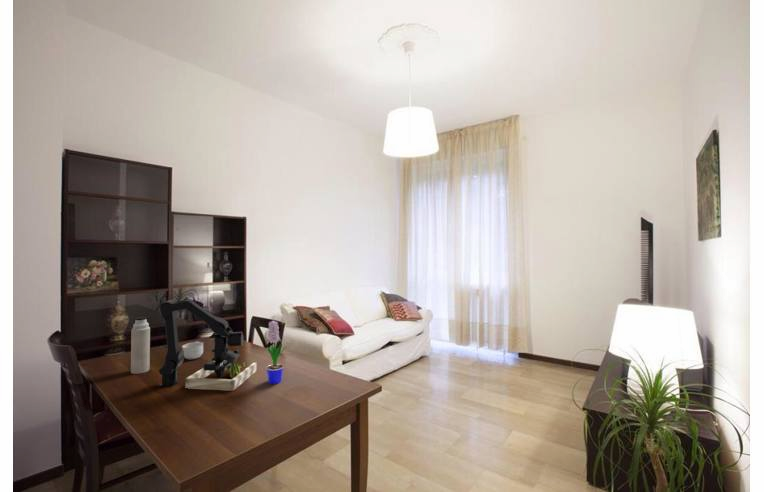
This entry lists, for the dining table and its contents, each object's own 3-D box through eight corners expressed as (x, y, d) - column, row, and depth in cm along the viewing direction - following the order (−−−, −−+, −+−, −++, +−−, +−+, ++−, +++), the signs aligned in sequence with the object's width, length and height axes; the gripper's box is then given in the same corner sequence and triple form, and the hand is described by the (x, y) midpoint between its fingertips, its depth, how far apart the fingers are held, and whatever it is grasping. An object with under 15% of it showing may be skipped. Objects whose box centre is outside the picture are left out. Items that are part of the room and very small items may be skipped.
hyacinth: (281, 386, 162) (282, 323, 161) (261, 384, 164) (262, 321, 163) (289, 379, 170) (290, 319, 170) (271, 377, 172) (272, 318, 172)
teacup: (196, 361, 193) (196, 347, 193) (177, 360, 194) (178, 346, 194) (209, 353, 207) (209, 340, 207) (192, 353, 208) (192, 339, 208)
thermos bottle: (139, 367, 182) (140, 315, 182) (153, 368, 181) (154, 316, 181) (126, 373, 174) (127, 318, 174) (141, 374, 173) (142, 319, 173)
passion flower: (219, 388, 172) (209, 364, 176) (242, 377, 181) (232, 354, 185) (226, 380, 164) (215, 355, 168) (249, 369, 173) (239, 346, 177)
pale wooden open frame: (233, 390, 156) (233, 380, 156) (185, 388, 157) (185, 378, 157) (256, 370, 180) (256, 362, 180) (214, 369, 182) (214, 360, 182)
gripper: (226, 353, 156) (225, 387, 156) (245, 341, 174) (245, 372, 174) (202, 352, 156) (202, 386, 156) (224, 340, 175) (224, 371, 175)
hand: (219, 378), depth 166 cm, fingers closed
